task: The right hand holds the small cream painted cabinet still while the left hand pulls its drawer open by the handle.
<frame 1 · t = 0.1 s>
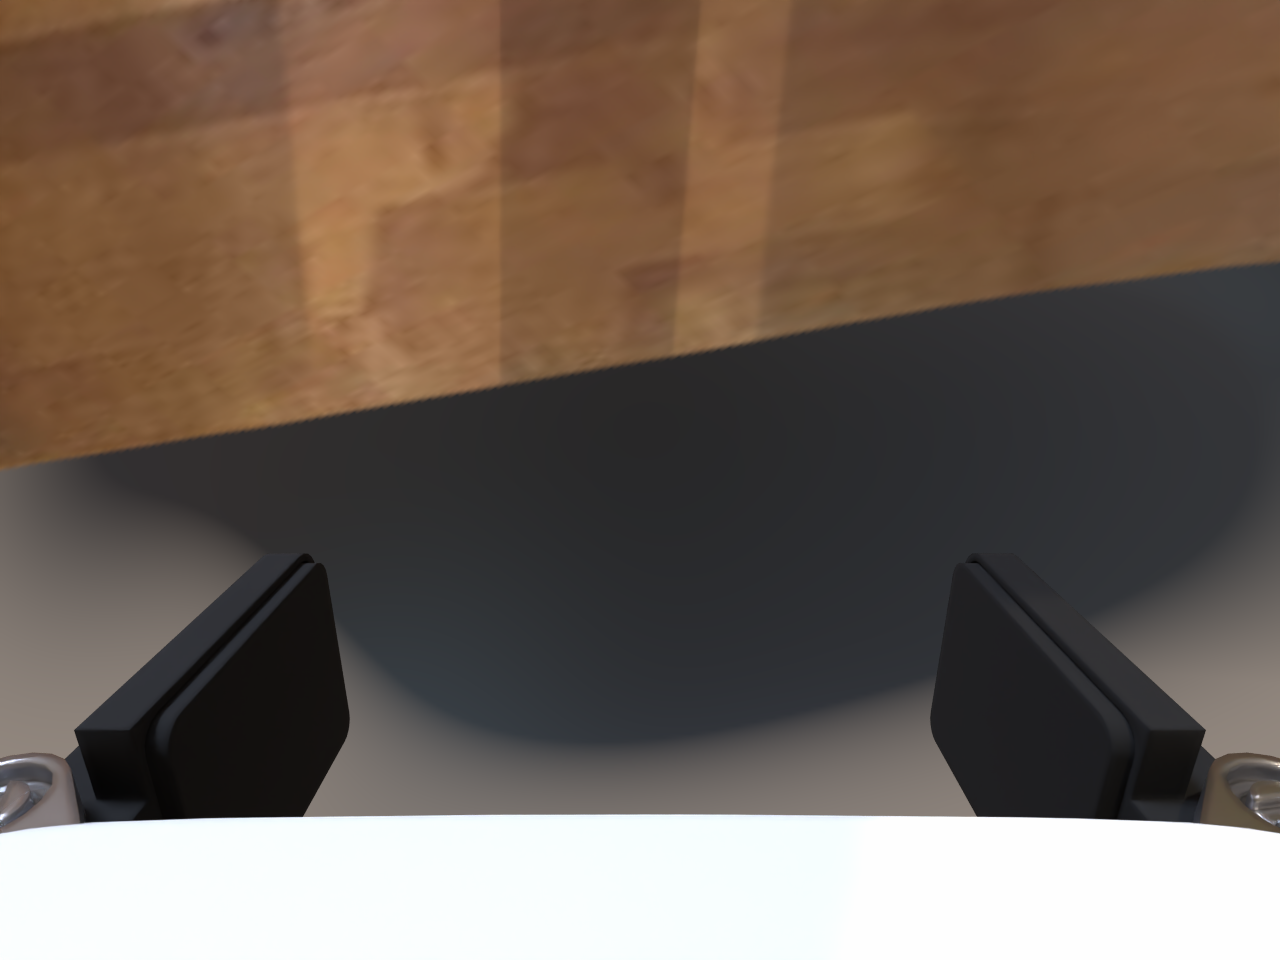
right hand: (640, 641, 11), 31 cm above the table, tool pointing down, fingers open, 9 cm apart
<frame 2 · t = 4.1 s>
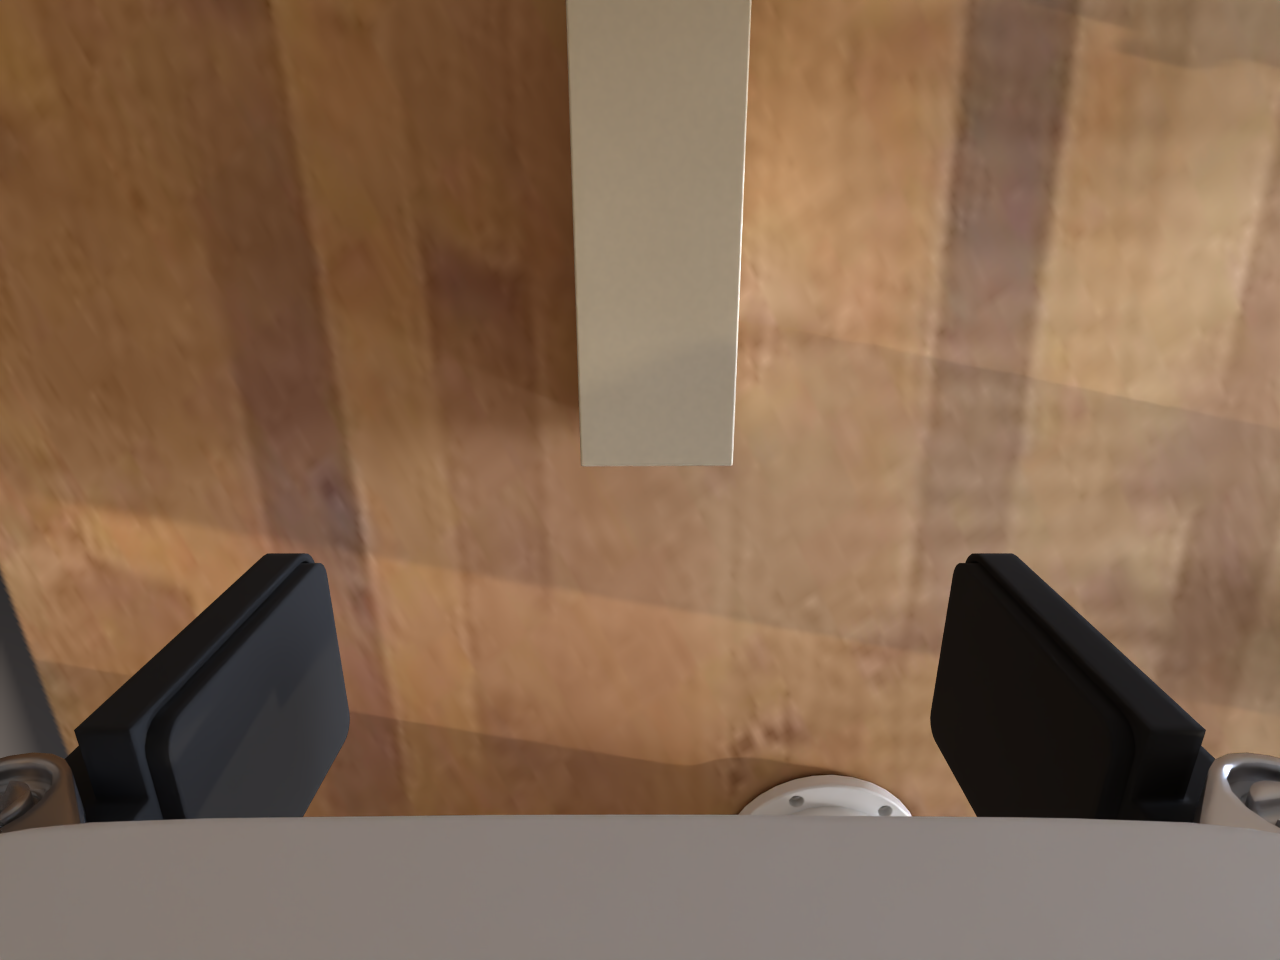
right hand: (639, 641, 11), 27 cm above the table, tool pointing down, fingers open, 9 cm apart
cabinet: (654, 198, 34), on the table
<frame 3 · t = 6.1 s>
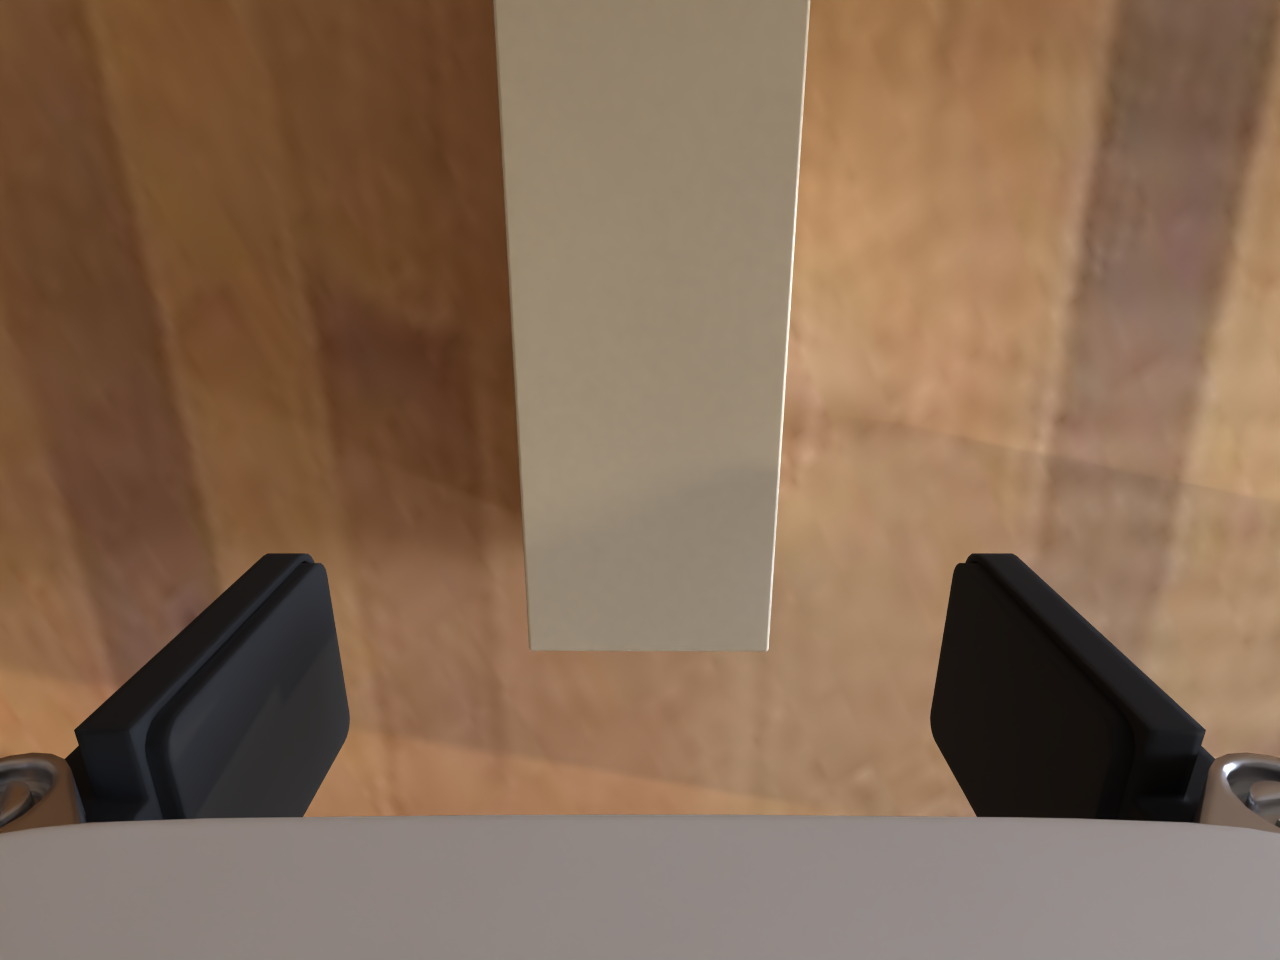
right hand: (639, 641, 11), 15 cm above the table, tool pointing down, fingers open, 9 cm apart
cabinet: (648, 228, 23), on the table
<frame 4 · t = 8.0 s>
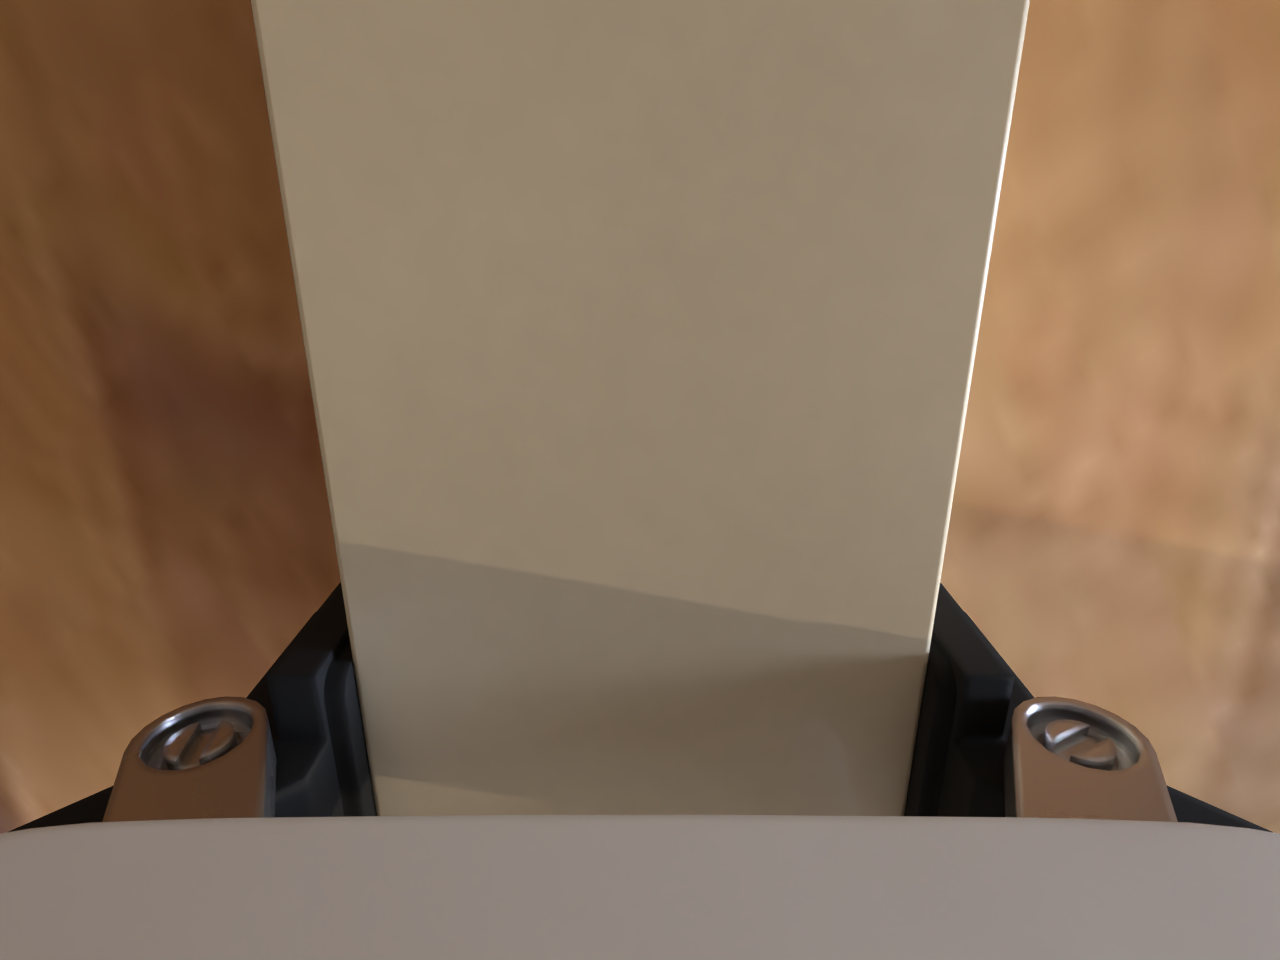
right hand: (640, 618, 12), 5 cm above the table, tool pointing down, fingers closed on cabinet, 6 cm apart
cabinet: (640, 203, 14), on the table, touching right hand
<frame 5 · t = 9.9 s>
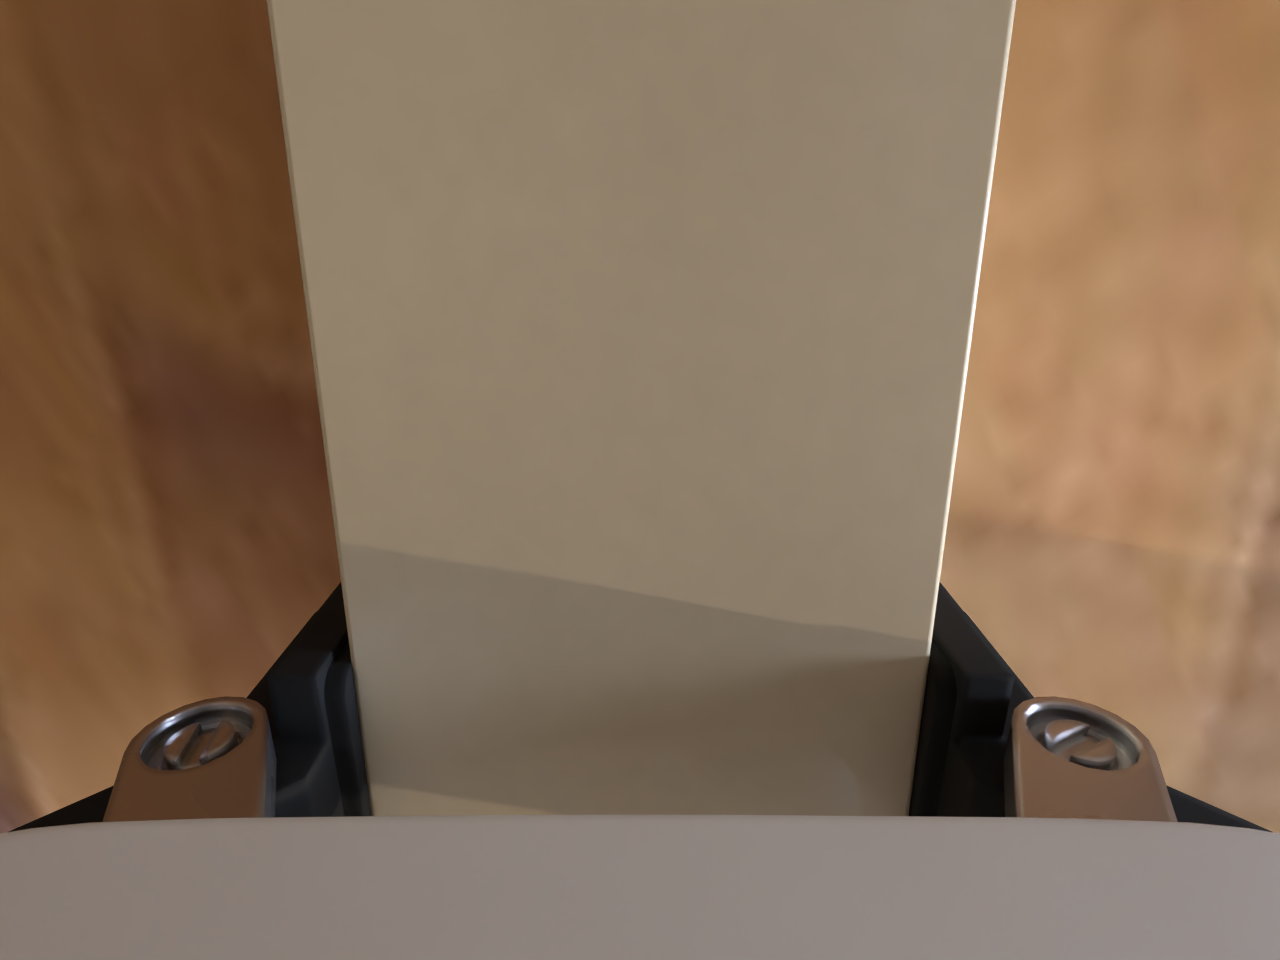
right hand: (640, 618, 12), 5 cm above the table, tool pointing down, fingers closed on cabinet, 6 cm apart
cabinet: (641, 221, 14), on the table, touching right hand
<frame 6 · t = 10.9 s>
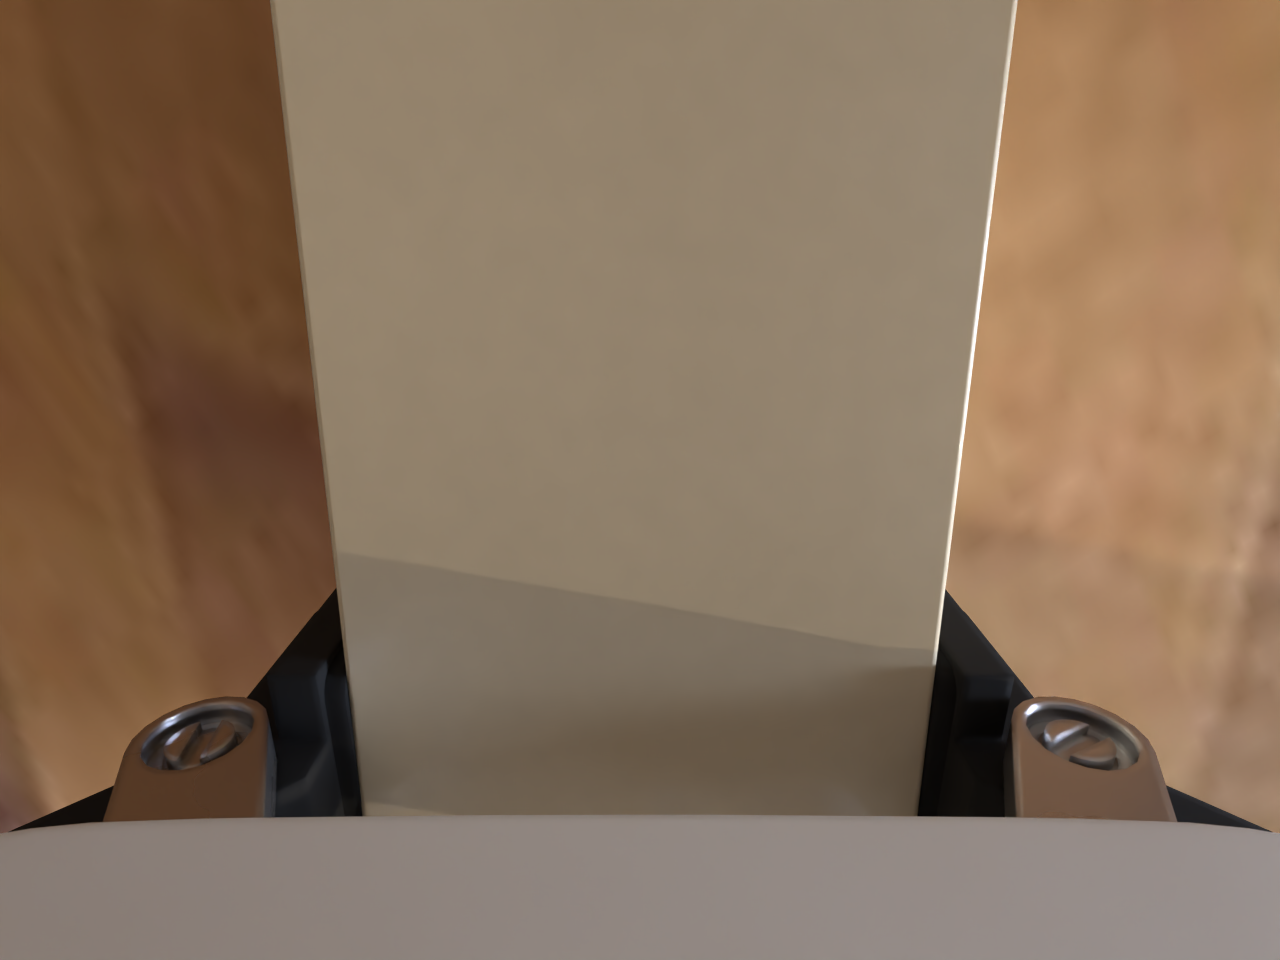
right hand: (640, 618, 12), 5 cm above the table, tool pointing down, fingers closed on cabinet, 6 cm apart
cabinet: (643, 233, 14), point 1 cm above the table, touching right hand
when the right hand's fingers open (5 cm above the table, at t = 12.5 s): cabinet stays where it is, on the table.
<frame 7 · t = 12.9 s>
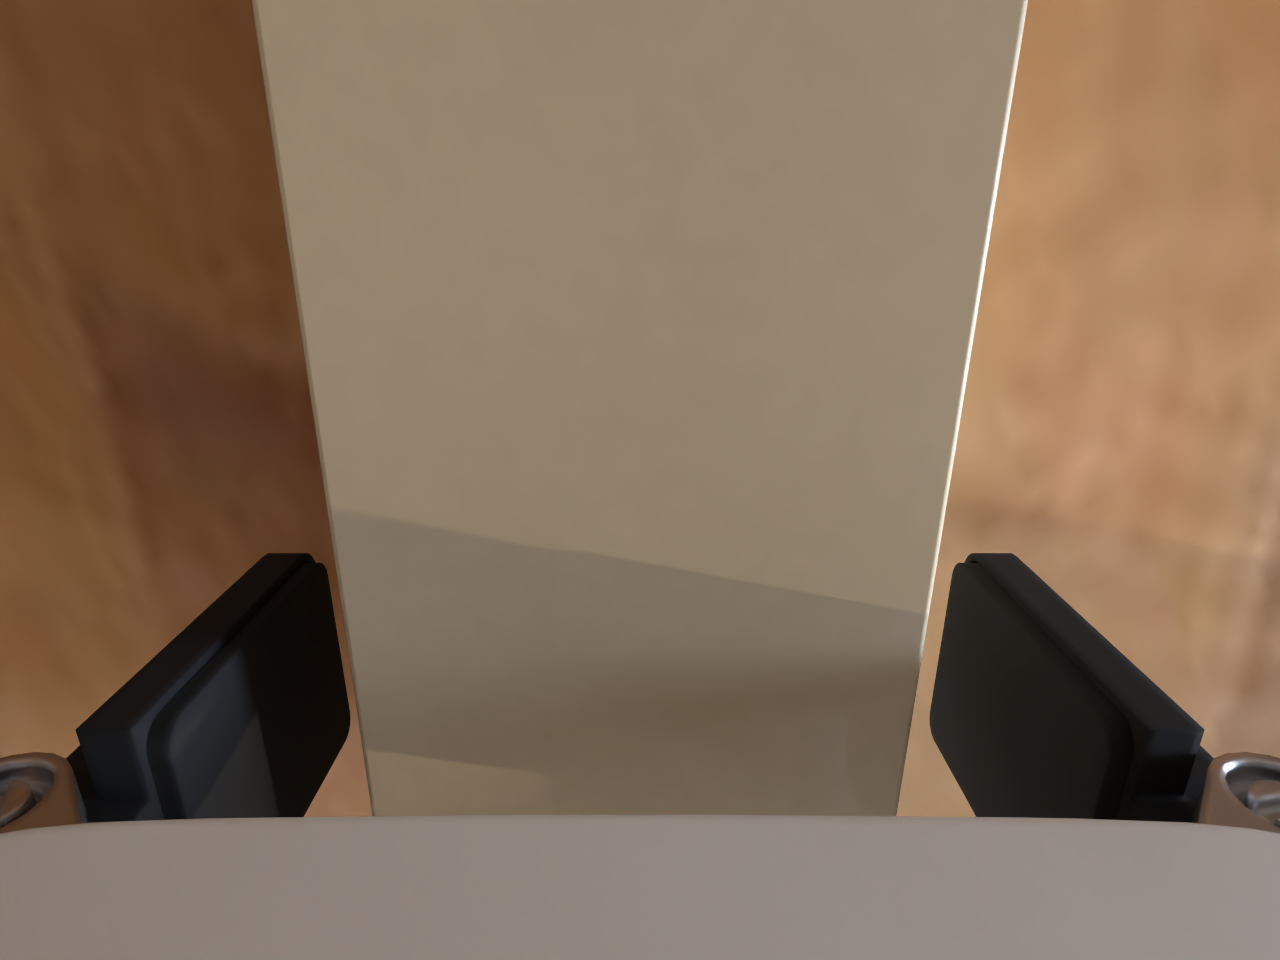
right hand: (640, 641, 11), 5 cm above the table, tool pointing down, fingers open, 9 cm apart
cabinet: (639, 197, 14), on the table
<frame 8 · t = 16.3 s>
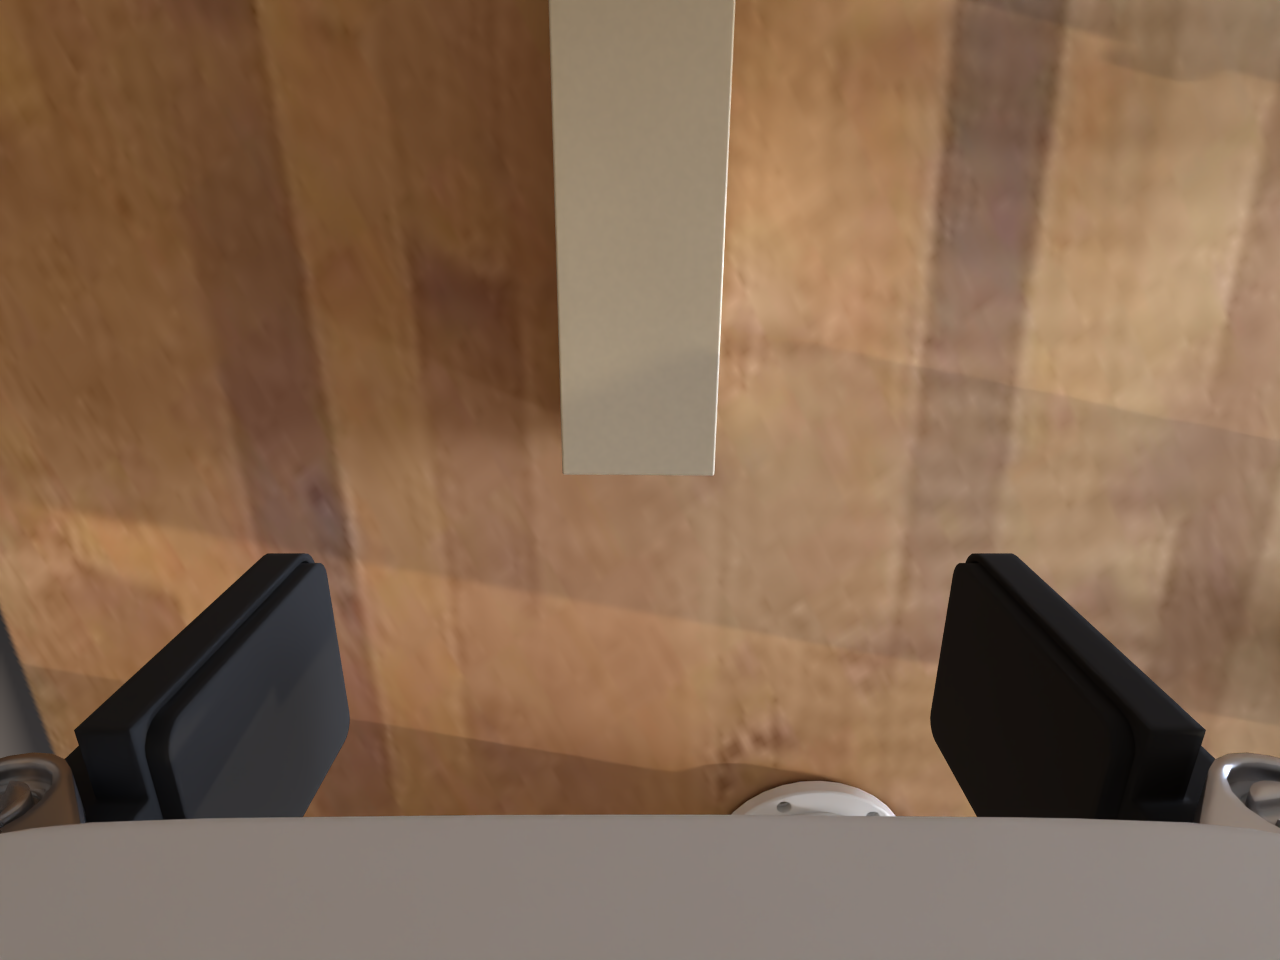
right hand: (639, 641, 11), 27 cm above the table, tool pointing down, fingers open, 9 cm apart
cabinet: (640, 206, 34), on the table
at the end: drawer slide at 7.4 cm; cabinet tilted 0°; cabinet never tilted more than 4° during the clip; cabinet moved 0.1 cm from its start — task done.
